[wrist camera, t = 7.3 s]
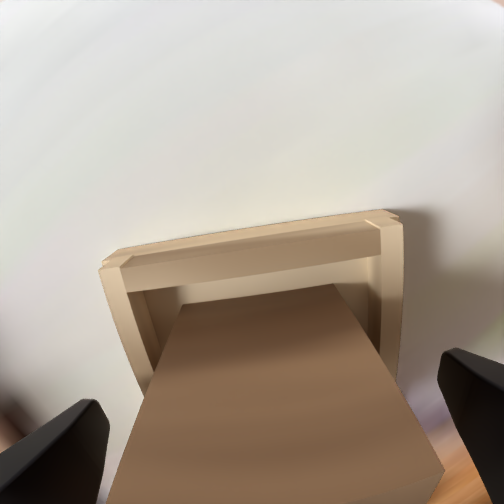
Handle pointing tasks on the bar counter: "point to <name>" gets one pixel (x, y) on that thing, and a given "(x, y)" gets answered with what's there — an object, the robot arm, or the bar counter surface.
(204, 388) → the beige cardboard cube
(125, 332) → the rail
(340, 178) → the bar counter surface
